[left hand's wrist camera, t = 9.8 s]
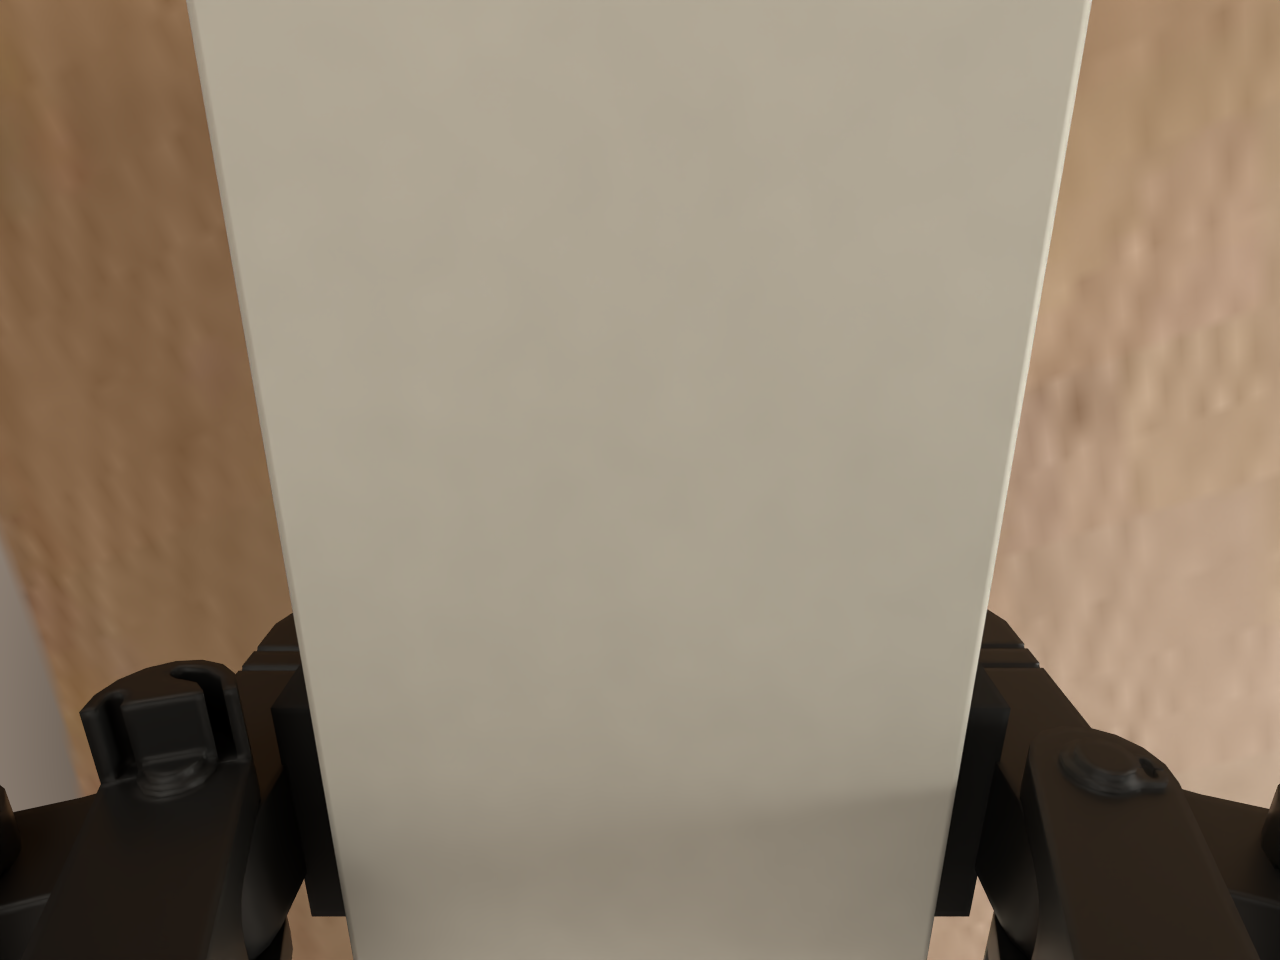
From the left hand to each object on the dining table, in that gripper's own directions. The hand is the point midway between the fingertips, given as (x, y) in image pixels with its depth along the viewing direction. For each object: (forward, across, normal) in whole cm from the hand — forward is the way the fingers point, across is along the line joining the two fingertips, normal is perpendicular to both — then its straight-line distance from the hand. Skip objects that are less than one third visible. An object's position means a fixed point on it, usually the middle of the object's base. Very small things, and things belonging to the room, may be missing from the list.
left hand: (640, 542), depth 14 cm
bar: (+1, 0, -20) cm, 20 cm away
